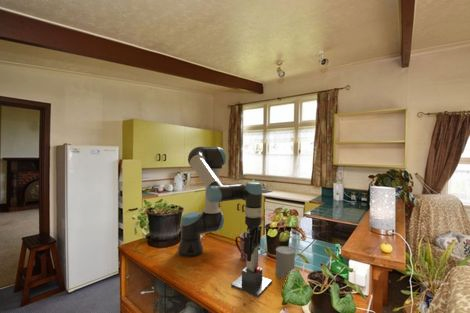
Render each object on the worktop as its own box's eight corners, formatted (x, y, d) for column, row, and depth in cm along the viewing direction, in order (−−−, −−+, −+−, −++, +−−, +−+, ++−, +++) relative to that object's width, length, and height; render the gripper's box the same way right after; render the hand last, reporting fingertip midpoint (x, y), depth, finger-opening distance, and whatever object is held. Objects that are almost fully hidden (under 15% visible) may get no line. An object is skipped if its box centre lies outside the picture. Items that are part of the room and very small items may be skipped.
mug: (257, 258, 136) (258, 235, 135) (249, 263, 128) (249, 239, 128) (240, 252, 143) (240, 230, 143) (231, 257, 136) (231, 234, 136)
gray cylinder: (290, 280, 112) (291, 255, 112) (272, 275, 117) (272, 251, 117) (296, 272, 120) (297, 248, 120) (279, 267, 125) (279, 244, 125)
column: (244, 279, 108) (245, 245, 108) (250, 274, 112) (250, 242, 112) (254, 282, 105) (254, 248, 105) (259, 278, 109) (260, 244, 109)
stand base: (231, 286, 107) (231, 268, 107) (246, 273, 119) (247, 256, 118) (258, 297, 99) (258, 277, 99) (272, 282, 111) (272, 264, 111)
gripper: (251, 221, 99) (250, 275, 99) (268, 213, 113) (267, 260, 114) (236, 218, 103) (235, 270, 104) (255, 210, 117) (254, 256, 118)
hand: (252, 265), depth 109 cm, fingers closed on column, 4 cm apart
